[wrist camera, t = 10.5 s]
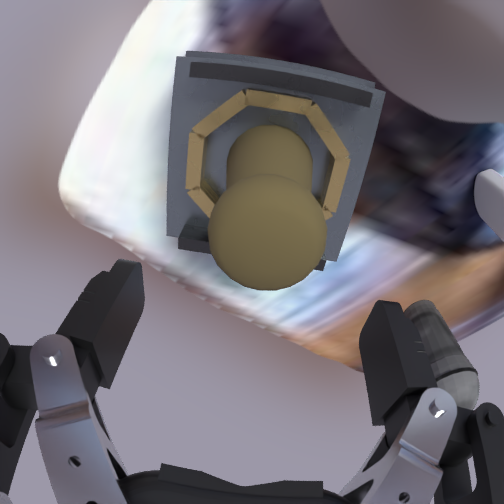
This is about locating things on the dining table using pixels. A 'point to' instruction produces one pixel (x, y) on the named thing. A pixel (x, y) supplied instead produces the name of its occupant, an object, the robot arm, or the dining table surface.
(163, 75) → the dining table surface
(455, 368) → the beverage cup
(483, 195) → the eye dropper bottle
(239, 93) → the grey peg socket base
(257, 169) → the cork
